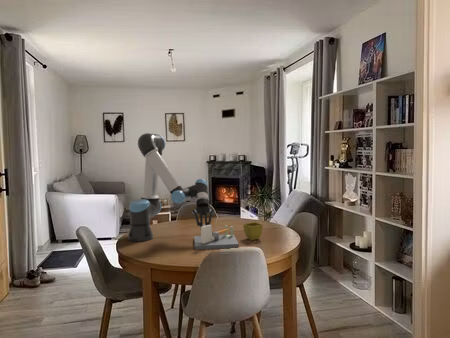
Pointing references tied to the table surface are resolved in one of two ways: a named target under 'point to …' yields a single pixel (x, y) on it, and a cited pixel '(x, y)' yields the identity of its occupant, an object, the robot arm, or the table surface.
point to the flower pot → (253, 230)
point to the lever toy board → (218, 241)
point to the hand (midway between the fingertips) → (204, 235)
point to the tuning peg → (209, 234)
